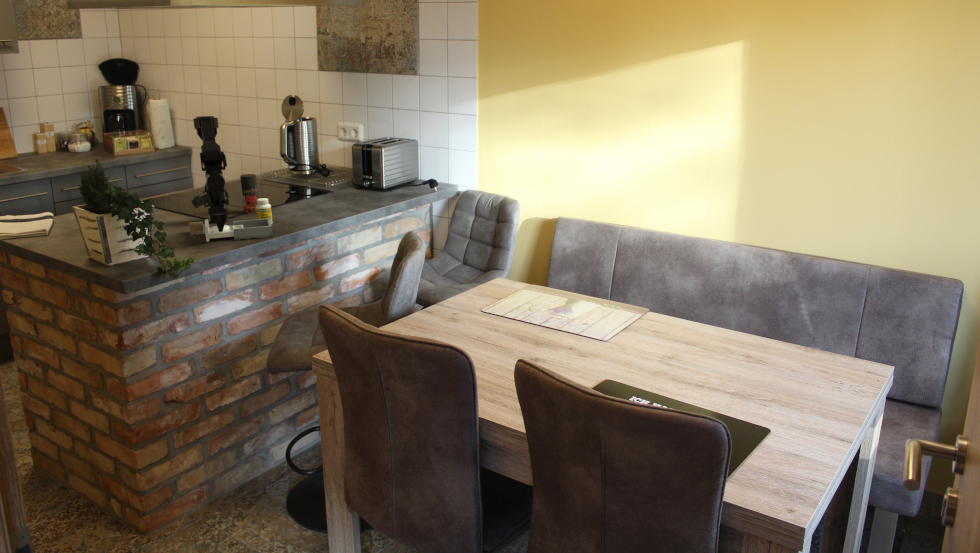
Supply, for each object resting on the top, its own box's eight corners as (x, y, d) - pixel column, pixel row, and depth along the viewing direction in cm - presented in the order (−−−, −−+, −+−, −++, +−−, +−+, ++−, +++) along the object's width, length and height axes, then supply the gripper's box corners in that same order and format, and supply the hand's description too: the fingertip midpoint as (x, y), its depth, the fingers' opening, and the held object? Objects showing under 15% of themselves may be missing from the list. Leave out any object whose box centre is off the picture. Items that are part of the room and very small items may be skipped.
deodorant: (241, 213, 292) (236, 176, 287) (250, 209, 297) (247, 173, 292) (253, 214, 290) (249, 177, 285) (262, 211, 295) (258, 174, 290)
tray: (205, 232, 262) (203, 219, 260) (243, 229, 266) (242, 216, 265) (204, 241, 251) (203, 227, 249) (244, 238, 255) (243, 224, 253)
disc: (211, 230, 259) (211, 224, 259) (229, 229, 261) (229, 223, 261) (211, 234, 254) (211, 229, 253) (229, 233, 256) (229, 227, 255)
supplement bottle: (270, 221, 279) (267, 197, 276) (274, 224, 275) (272, 199, 272) (256, 223, 277) (253, 198, 273) (260, 226, 272) (257, 201, 269)
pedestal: (191, 231, 265) (189, 222, 264) (204, 230, 266) (202, 221, 265) (190, 234, 261) (189, 225, 260) (203, 233, 262) (202, 224, 261)
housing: (233, 231, 265) (232, 221, 264) (270, 228, 269) (269, 218, 268) (234, 240, 254) (233, 229, 253) (273, 237, 258) (272, 226, 257)
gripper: (191, 181, 258) (197, 224, 263) (189, 192, 241) (195, 237, 246) (224, 179, 262) (229, 221, 267) (225, 189, 245) (230, 234, 250)
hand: (220, 228), depth 257 cm, fingers open, 9 cm apart
